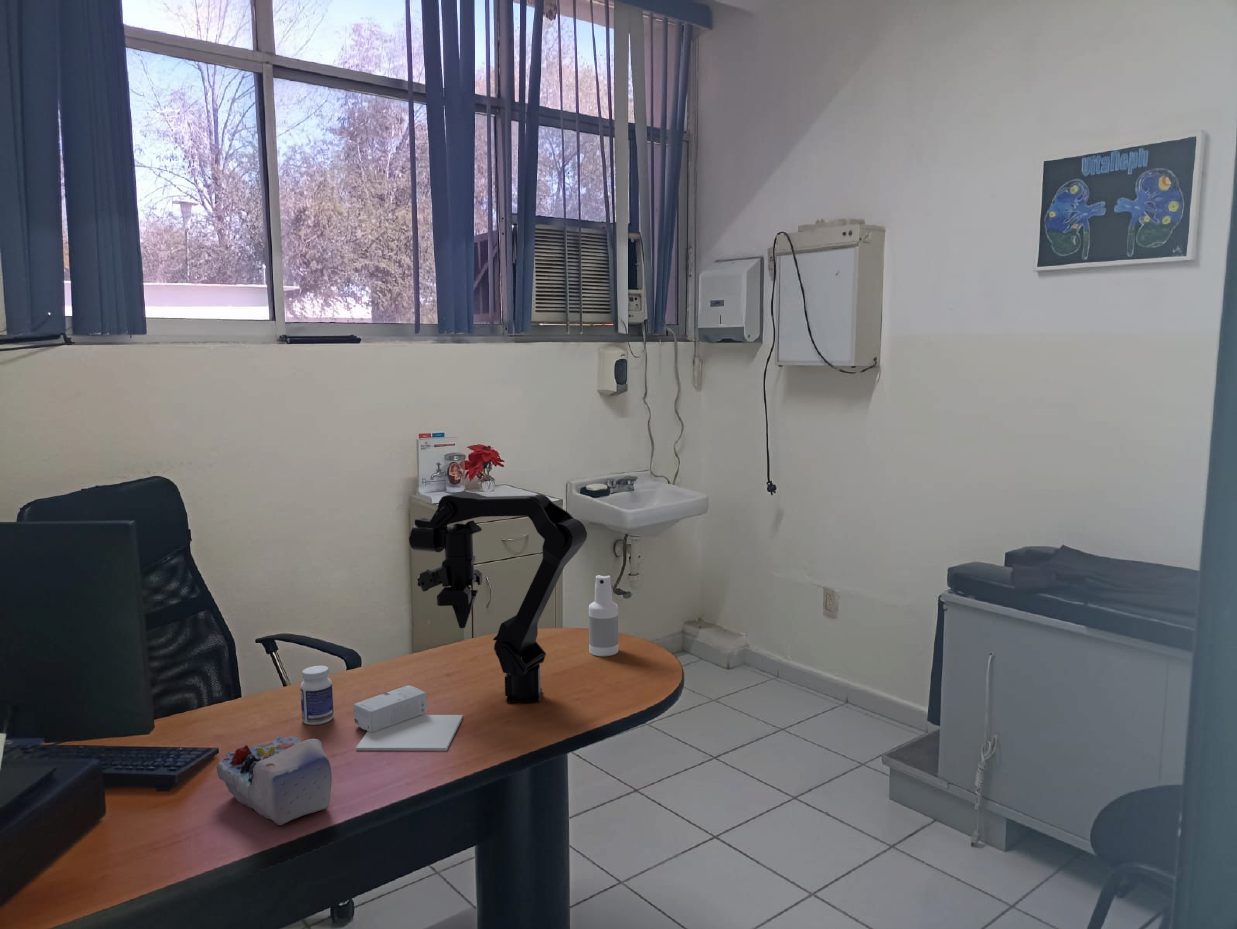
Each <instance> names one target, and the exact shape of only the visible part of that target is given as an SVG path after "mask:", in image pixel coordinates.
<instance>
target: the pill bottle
mask: <svg viewBox="0 0 1237 929" xmlns="http://www.w3.org/2000/svg"><path fill="white" fill-rule="evenodd" d="M301 674H302V679H303V681H302V682H301V684H300V686H299V687H300V702H301V703H300V705H301V706H300V707H301V708H300V709H301V719H302V723H304V724H306V725H309V726H314V725H315V726H319V725H323V724H326V723H329V722H331V720H332V719H333V718H334V716H335V715H334V712H335V711H334V710H335V709H334V698H333V697H334V694H333V682H332V679H331V678H329V677H328V676H329V674H330V672H329V667H328V666H326V665H315V666H309V667H306V668H304V669H303V670H302V673H301Z"/></svg>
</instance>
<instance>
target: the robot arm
mask: <svg viewBox="0 0 1237 929" xmlns="http://www.w3.org/2000/svg"><path fill="white" fill-rule="evenodd" d="M482 517H528V518H529V519H530V520H531V522H532V524H533V526H534V528H535V530H536V532H537V533H538V535H540V536H541V537H542V538H543V544H542V551H541V552H542V560H541V562H540V564H539V565H538V569H537V570H536V573H535V575H534V576H533V578H532V581H531V583H530V586H529V588H528V590H527V592H526V594H525V595H524V598H523V601H522V602H521V604H520V607H519V609H518V611H517V613H516V615H514V616H512V617H510V618H508V619H507V620H505V621H503V622H501V623H500V625H499V628H498V632H497V634H496V636H495V637H494V638H492V640H493V641H495V643H494V644H493V650H494V652H495V655H496V657H497V658H498V661H499V664H500V668H501V671H502V673H504V696H505V697H506V699H505V701H506V702H505V703H522V704H523V703H524V704H525V703H539V701H540V699H541V695H542V691H543V689H542V688H541V665H540V664H543V663H544V662H545V658H546V656H547V653H546V651H545V650H544V649H543V648H542V647H541V645H539V643H538V642H537V638H538V634H539V633H538V624H539V621H540V619H541V616H542V615H543V613H544V610H545V608H546V607H547V604H548V602H549V599H550V598H551V595H552V594H553V591H554V590H555V587H556V585H557V583H558V581H559V579H560V577H561V574H562V572H563V570H564V568H565V566H566V565H567V564H568V563H569V562H570V561H571V559H572V558H573V557H574V556H575V555H576V554H577V553H578V552H579V551H580V549H581V548H582V546H583V545H584V544H585V542H586V541H587V538H588V531H587V530H586V529H587V528H586V526H585V525H584V523H582V522H581V521H580V520H579V519H578V518H577V519H576V518H574V517H573V516H572V514H570V513H569V511H567V510H565V509H563V508H562V507H560V506H558V505H557V504H556V503H554V502H553V501H552V500H551V499H550V498H549V497H548V496H546V495H544V494H542V493H537V494H535V495H533V494H532V495H506V496H505V495H503V496H502V495H501V496H499V495H498V496H497V495H496V496H495V495H494V496H486V495H482V494H480V493H477V492H470V491H467V490H466V491H465V490H463V491H458V492H454V493H451V494H447V495H443V496H441V498H440V500H439V501H438V504H437V509H436V511H435V512H434V514H433V515H432V518H431V519H429V518H425V517H419V518H416V519H414V525H413V527H412V529H411V530H410V534H409V537H408V542H409V545H410V548H411V549H412V550H413V551H415V552H416V551H417V552H429V553H442V551H443V550H444V560H443V561H442V562H441V565H439V566H435V567H433V568H431V569H426V570H425V571H421V572H420V573H419V575H418V576H417V577H416V580H417V586H418V587H420V588H421V591H422V592H423V593H424V592H427V591H429V589H432V588H436V587H438V586H440V585H442V586H441V587H443V588H442V589H441V590H440V592H439V593H438V594H437V595H436V605H437V606H438V607H452V609H453V611H454V615H455V618H456V621H457V625H458V628H459V629H465V628H466V626H467V623H468V621H469V618H470V615H471V612H472V608H473V606H474V604H475V600H476V598H477V595H478V591H479V590H478V589H472V587H471V586H473V585H475V583H476V584H477V586H480V585H482V583H483V573H482V572H481V571H480V570H478V569H475V567H474V566H475V561H476V555H474V545H473V544H474V543H473V542H474V540H473V535H475V534H476V533H480V532H482V530H483V528H482V527H481V526H479V525H478V524H476V522H475V521H474V520H473V519H476V518H482ZM468 520H470V521H468ZM464 521H467V522H466V523H461V522H464ZM459 522H460V523H459ZM454 523H455V524H454ZM451 524H453V525H452V526H448V525H451Z"/></svg>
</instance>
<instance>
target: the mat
mask: <svg viewBox="0 0 1237 929" xmlns="http://www.w3.org/2000/svg"><path fill="white" fill-rule="evenodd" d="M463 717H464V715H463V714H422V715H419V716H416V717H414V718H411V719H408V720H406V721H403V722H400V723H397V724H394V725H392V726H389V727H386V728H384V729H381V730H378V731H376V732H373V733H371V732H369V731H366V733H365V734H364V736H362V739H361V740H360V741H359V742H358V744H357V745H356V747H355V751H390V752H391V751H399V752H400V751H404V752H405V751H407V752H408V751H410V752H411V751H416V752H417V751H421V752H422V751H423V752H424V751H426V752H427V751H429V752H430V751H432V752H433V751H435V752H436V751H437V752H438V751H439V752H440V751H441V752H442V751H445V752H446V751H448V748H449V747H450V744H451V742H452V741H453V738H454V736H455V734H456V732H457V731H458V728H459V725H460V724H461V722H462V720H463Z"/></svg>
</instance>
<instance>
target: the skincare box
mask: <svg viewBox="0 0 1237 929" xmlns="http://www.w3.org/2000/svg"><path fill="white" fill-rule="evenodd" d="M426 713H427V693H426V692H425V691H423V690H422V689H420V688H417V687H414V686H412V685H410V684H409V685H408V684H407V685H405V686H402V687H399V688H395V689H393V690H391V691H388V692H384V693H381V694H379V695H376V696H372V697H369V698H367V699H364V700H361V701H358V702H356V703H353V715H354V716H353V717H354V718H353V719H354V720H353V721H354V725H356V726H358V727H360V729H362V730H365V731H366V732H368V731H369V732H371V733H373V732H376V731H378V730H381V729H384V728H386V727H389V726H392V725H394V724H397V723H400V722H403V721H406V720H408V719H411V718H414V717H416V716H419V715H426Z"/></svg>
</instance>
